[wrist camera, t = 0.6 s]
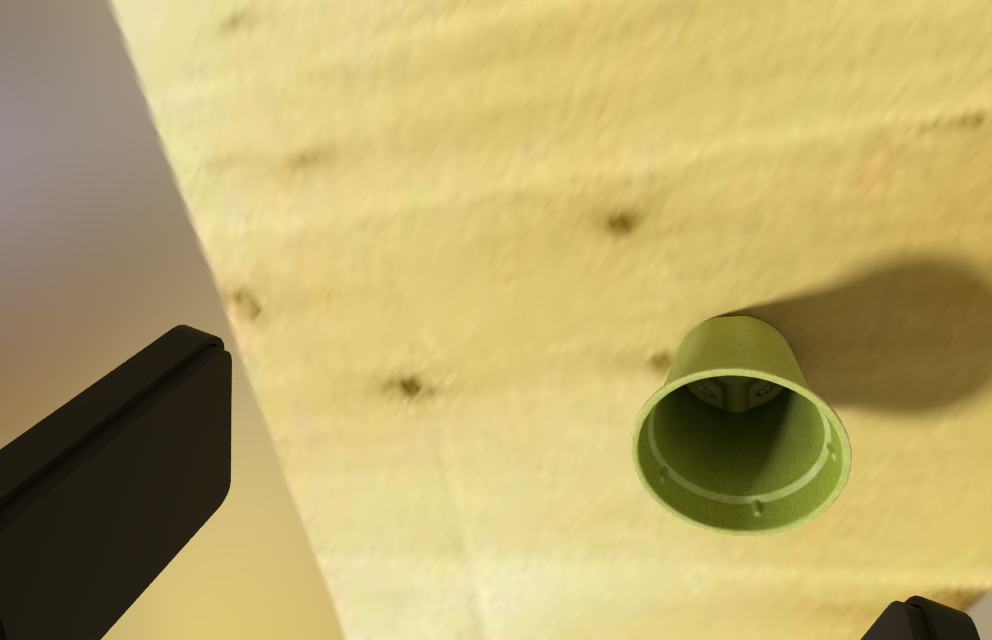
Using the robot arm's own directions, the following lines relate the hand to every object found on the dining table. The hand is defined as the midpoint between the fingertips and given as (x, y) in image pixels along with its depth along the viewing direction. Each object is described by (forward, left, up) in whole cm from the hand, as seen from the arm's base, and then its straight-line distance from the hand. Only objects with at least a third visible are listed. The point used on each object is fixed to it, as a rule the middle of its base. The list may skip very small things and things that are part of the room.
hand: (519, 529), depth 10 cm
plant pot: (+9, +11, -29) cm, 32 cm away
